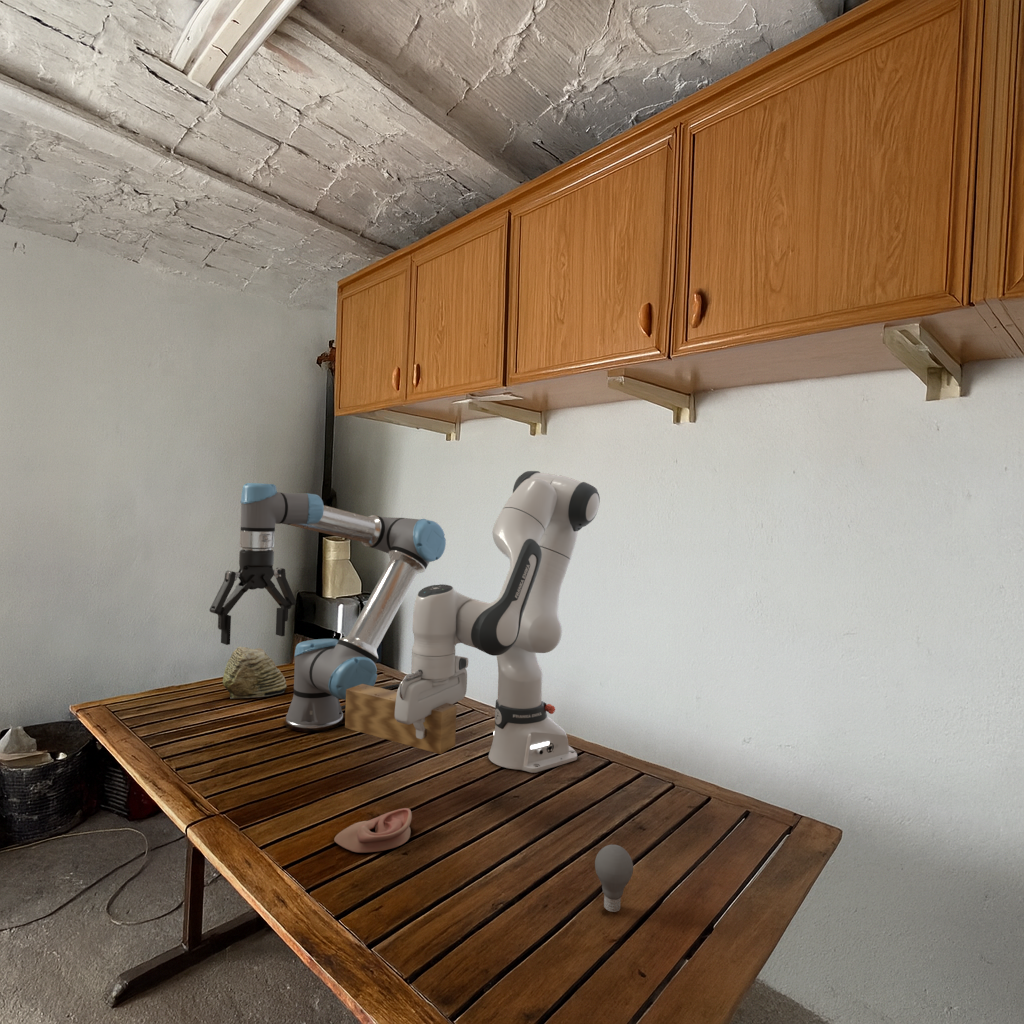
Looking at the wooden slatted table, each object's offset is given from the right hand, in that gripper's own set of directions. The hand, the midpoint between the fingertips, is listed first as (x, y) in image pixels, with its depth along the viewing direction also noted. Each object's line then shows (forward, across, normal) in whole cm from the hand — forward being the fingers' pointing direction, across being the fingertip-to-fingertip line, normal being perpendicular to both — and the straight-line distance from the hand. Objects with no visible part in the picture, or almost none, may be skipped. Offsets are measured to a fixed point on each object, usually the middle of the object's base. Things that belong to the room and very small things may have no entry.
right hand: (431, 732), depth 129 cm
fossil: (+16, +29, +89) cm, 95 cm away
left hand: (-13, -5, +48) cm, 50 cm away
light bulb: (+16, -10, -43) cm, 47 cm away
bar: (+3, 0, +8) cm, 9 cm away
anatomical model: (+16, -14, +2) cm, 22 cm away
